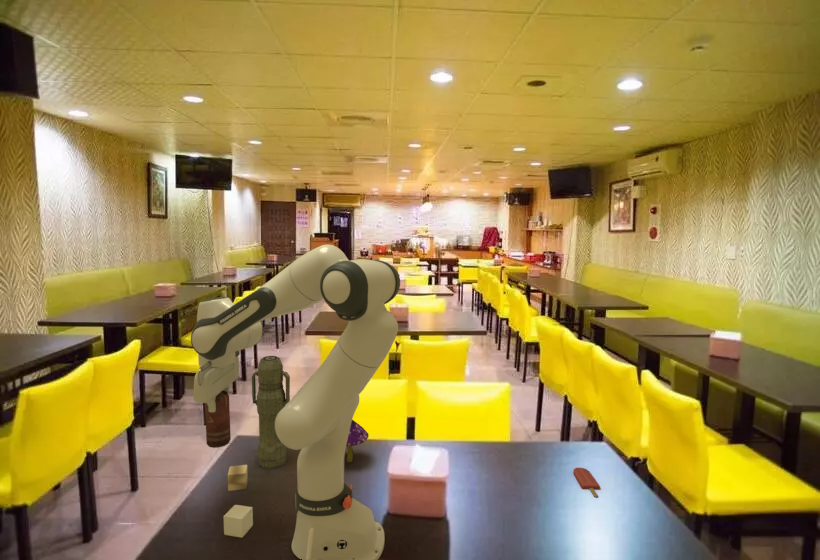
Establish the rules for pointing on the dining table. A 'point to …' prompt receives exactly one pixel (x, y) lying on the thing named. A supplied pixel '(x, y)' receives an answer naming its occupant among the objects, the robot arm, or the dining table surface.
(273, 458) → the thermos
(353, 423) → the decorative mushroom
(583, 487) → the popsicle
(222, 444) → the can
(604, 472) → the dining table surface
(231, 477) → the maple block
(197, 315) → the robot arm
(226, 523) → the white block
